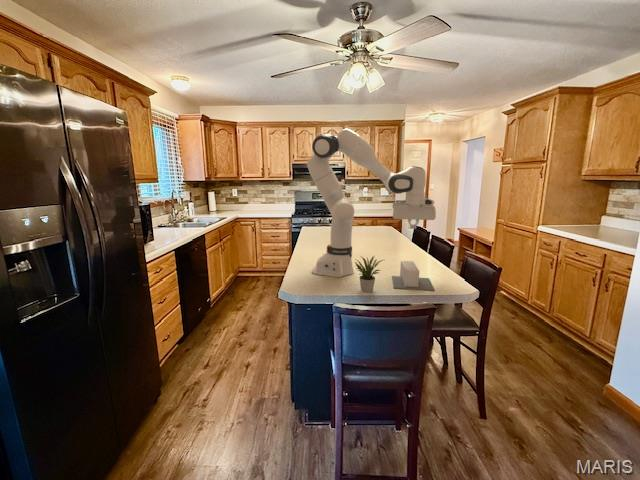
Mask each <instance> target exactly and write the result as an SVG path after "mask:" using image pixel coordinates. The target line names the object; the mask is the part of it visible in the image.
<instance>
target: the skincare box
mask: <svg viewBox="0 0 640 480" xmlns="http://www.w3.org/2000/svg"><path fill="white" fill-rule="evenodd" d="M399 275H400V276H401V278H402V281H403V283H404V286H405V287H418V284H419V278H420V270H419V268H418V267H417V264H415V262H414V261H413V260H400V271H399Z"/></svg>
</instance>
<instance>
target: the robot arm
mask: <svg viewBox="0 0 640 480" xmlns="http://www.w3.org/2000/svg"><path fill="white" fill-rule="evenodd" d="M311 147H312V151H313V153H314V154H313V155H312V156H311V157H310V158H308V160H307V162H306V166H307V167H306V168H307V169H308V171H309V172H308V173H309V175H310V178H311V179H312V180H313V183H314V185H315V186H316V188H317V190H318V192H319V194H320V195H321V197H322V199H323V203H324V204H325V205H326V208H327V209H328V211H329V212H330V215H331V226H330V244H327V246H326V252H325V253H324V254H322V256H320V257H319V258H318V259H317V261H316V264H315V266H313V267H312V269H311V273H312V274H313V275H318V276H319V275H320V276H328V277H334V278H335V277H337V278H341V277H344V276H350V275H352V274H354V272H355V269H354V267H353V262H352V261H353V260H352V256H353V246H352V236H353V235H352V234H353V232H352V230H353V225H354V217H355V207H354V205H353V203H351V202H350V201H349V200H348V199H347V197H346V195H345V192H344V191H343V188H342V186H341V183H340V181H339V179H338V178H337V176H336V174H335V172H334V170H333V168H332V166H331V164H330V162H329V161H330V158H332V156H334V155H335V153H337V152H340V153H342V154H344V155H345V156H346V157H347V158H349V159H350V160H351V161H352V162H354V163H355V164H357V165H358V166H361V167H362V168H364V169H367V170H369V172H371V173H372V174H373V175H374V176H376V177H377V178H378V179H379V180H380V181H381V182H382V184H383V186H384V188H385V190H386V191H387V192H388V193H391V194H394V195H395V194H396V195H399V194H404V193H405V200H404V199H403V200H395V201H393V202H392V209H393V211H392V218H393V219H394V220H407V222H408V224H409V229H412V230H413V229H415V230H416V229H417V225H418V224H419V222H420V220H421V221H423V220H424V221H435V219H436V215H437V211H436V206H435V200H433V199H430V198H429V197H426V194H425V193H426V192H425V188H426V183H427V182H426V179H427V174H426V170H425V169H424V168H423V167H419V166H415V165H411V166H409V167H408V168H405V169H404V170H402V171H400V172H397V173H395V172H392V171H390V169H388V168H387V167H386V166H385V165H384V164H383V163H382V162H381V161H380V160H379V159H378V158H377V155H376V152H375V149H374V148H373V147H372V145H371V144H370V143H369V142H368V141H367V140H366V139H365V138H363V137H362V136H361V135H359V134H358V133H357V132H355V131H353V130H352V129H350V128H344V129H343V128H342V130H340V131H339V132H338V133H337V134H336V135H334V134H332V133H329V132H327V133H321V134H319V135H317V136H315V138H314V139H313V142H312V145H311ZM412 220H414V221H415V223H414V224H412V223H411V222H412Z"/></svg>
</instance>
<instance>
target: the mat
mask: <svg viewBox="0 0 640 480" xmlns="http://www.w3.org/2000/svg"><path fill="white" fill-rule="evenodd" d="M391 279H392V286H393V289H396V290H410V291H426V292H435V290H436V289H435V287H434V285H433V284H432V282H431V279H430V278H429V277H419V284H418V287H405V286H404V283H403V281H402V278H401V276H399V275H398V276H397V275H392V276H391Z"/></svg>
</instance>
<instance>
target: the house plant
mask: <svg viewBox="0 0 640 480" xmlns="http://www.w3.org/2000/svg"><path fill="white" fill-rule="evenodd" d="M359 256H360V258H361V259H362V260H363V263H364V265H363V264H362V263H361V261H360V260H358V259H356V261H354V264H355V266H356V267H357V268H355V270H356V271H358V272H360V273H359V274H358V276H359V284H360V291H361V292H363V293H365V294H366V293H367V294H369V293H373V292H374V286H375V283H376V282H375V281H376V277H375V276H373V275H376V274H379V272H381V269H376V267H377V266H379V264H380V262H383V261H384V259H381V260H379V261H378V259H375V255H373V256H372V257H371V258H370V260H369V258H368V257H366V259H367V260H366V259H365V258H364V257H363V256H361V255H359ZM374 259H375V260H374ZM374 269H375V270H374Z"/></svg>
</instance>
